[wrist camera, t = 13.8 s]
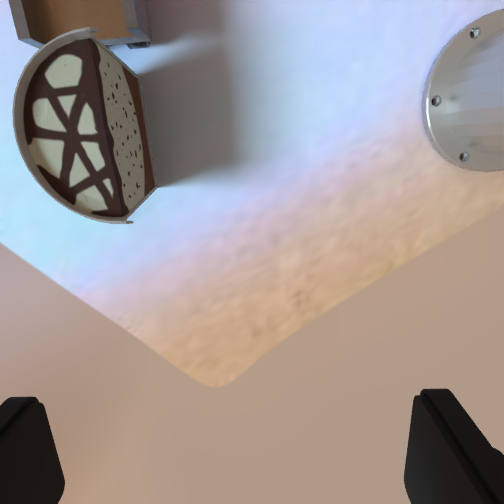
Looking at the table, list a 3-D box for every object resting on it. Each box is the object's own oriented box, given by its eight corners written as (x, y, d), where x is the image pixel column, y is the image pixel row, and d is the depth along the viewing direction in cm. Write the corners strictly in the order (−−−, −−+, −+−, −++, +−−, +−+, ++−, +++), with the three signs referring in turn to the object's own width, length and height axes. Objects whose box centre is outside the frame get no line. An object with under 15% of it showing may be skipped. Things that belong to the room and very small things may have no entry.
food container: (63, 63, 30) (-25, 27, 20) (136, 57, 30) (83, 17, 20) (94, 209, 33) (32, 237, 24) (159, 204, 33) (123, 229, 24)
